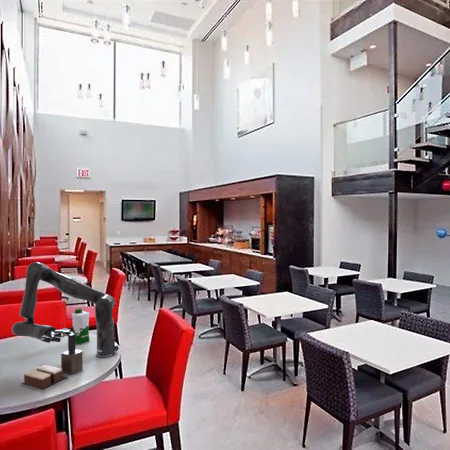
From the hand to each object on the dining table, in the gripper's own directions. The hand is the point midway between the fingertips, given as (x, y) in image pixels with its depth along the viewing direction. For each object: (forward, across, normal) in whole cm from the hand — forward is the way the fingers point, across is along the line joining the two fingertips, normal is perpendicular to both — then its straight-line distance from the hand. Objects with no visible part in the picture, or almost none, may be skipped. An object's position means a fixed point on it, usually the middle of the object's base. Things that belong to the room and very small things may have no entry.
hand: (67, 337), depth 187 cm
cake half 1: (0, -17, +17) cm, 24 cm away
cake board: (0, -14, +18) cm, 22 cm away
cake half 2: (0, -11, +17) cm, 20 cm away
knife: (+3, 0, +17) cm, 17 cm away
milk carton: (-27, +35, +18) cm, 47 cm away
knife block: (+3, 0, +18) cm, 18 cm away
